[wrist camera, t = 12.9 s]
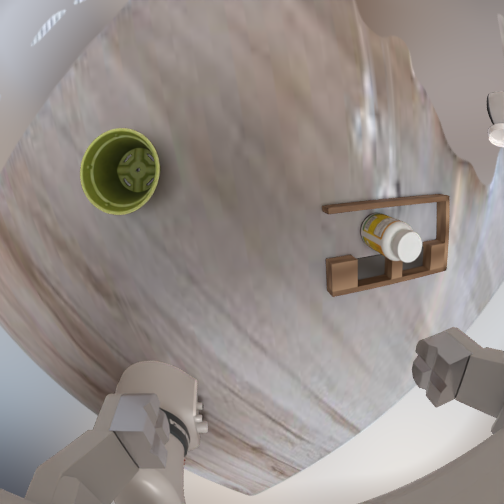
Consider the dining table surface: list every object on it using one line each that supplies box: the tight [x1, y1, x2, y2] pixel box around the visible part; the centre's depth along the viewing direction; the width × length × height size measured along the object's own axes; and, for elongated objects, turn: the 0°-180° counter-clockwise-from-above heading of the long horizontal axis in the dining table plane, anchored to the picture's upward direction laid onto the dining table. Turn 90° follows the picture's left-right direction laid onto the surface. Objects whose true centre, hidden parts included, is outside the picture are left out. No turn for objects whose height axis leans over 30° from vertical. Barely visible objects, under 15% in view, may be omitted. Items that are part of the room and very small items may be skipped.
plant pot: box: [80, 128, 160, 215], centre depth 32 cm, size 9×9×9 cm
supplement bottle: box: [361, 213, 422, 263], centre depth 38 cm, size 5×5×10 cm
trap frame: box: [322, 194, 449, 297], centre depth 42 cm, size 13×22×2 cm, turn 97°
